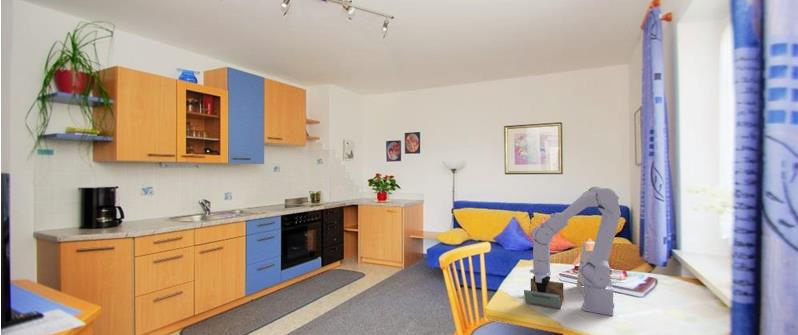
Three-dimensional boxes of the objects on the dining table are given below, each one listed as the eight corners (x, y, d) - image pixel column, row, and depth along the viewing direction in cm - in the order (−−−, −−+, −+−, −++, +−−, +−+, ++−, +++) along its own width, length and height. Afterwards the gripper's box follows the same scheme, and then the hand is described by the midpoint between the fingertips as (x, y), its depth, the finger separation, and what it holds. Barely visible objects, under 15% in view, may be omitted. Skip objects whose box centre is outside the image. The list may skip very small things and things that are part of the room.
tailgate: (560, 305, 131) (559, 295, 128) (560, 308, 130) (558, 298, 128) (525, 299, 137) (524, 289, 135) (525, 302, 136) (523, 292, 134)
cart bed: (563, 299, 140) (563, 282, 140) (560, 309, 131) (560, 291, 131) (531, 294, 146) (531, 278, 146) (526, 303, 137) (525, 286, 137)
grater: (576, 286, 155) (576, 239, 154) (602, 287, 153) (602, 240, 153) (585, 295, 144) (584, 245, 144) (613, 296, 143) (613, 245, 142)
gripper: (533, 253, 140) (533, 288, 141) (526, 263, 128) (526, 301, 128) (553, 255, 137) (553, 291, 137) (547, 265, 124) (547, 304, 125)
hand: (541, 296), depth 132 cm, fingers closed, pressing on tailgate
